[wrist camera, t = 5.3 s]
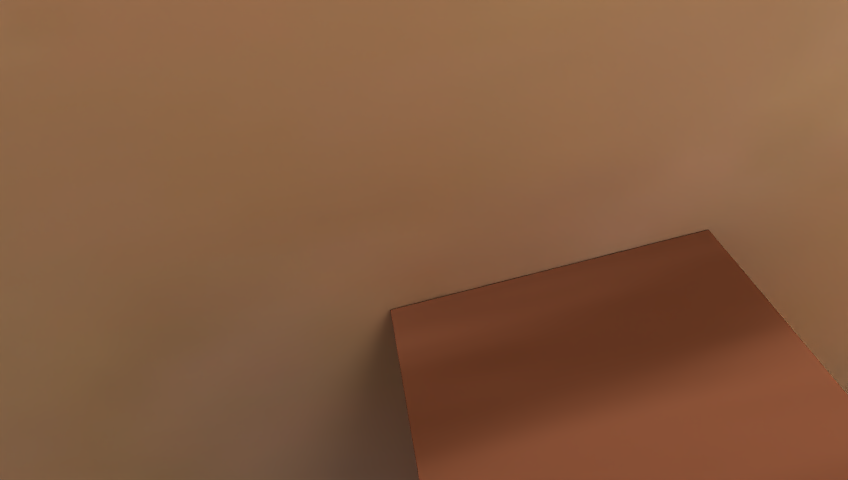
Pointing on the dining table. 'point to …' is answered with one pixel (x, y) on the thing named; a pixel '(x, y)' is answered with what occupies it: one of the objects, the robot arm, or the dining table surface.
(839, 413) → the terracotta block
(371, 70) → the dining table surface
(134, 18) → the dining table surface
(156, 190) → the dining table surface
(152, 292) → the dining table surface
